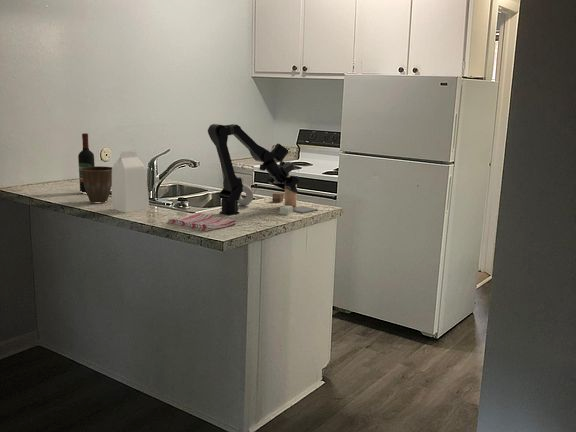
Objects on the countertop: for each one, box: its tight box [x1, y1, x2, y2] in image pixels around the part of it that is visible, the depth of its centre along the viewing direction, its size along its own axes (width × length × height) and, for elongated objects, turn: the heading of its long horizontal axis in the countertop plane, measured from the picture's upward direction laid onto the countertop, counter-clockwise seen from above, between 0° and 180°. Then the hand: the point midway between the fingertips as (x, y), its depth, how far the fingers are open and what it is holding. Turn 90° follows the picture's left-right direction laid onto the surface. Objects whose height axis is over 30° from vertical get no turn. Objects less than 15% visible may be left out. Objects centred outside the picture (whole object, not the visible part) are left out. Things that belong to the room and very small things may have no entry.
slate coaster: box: [293, 205, 319, 214], centre depth 274 cm, size 10×10×1 cm
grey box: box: [279, 205, 294, 216], centre depth 267 cm, size 6×4×3 cm, turn 161°
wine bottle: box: [77, 132, 96, 192], centre depth 304 cm, size 8×8×30 cm
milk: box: [111, 150, 150, 213], centre depth 266 cm, size 12×12×26 cm
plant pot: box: [81, 166, 113, 203], centre depth 282 cm, size 15×15×16 cm
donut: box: [237, 183, 254, 207], centre depth 281 cm, size 10×4×10 cm, turn 64°
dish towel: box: [167, 212, 237, 232], centre depth 243 cm, size 17×23×4 cm
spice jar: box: [283, 175, 298, 207], centre depth 282 cm, size 6×6×14 cm
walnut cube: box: [271, 192, 284, 203], centre depth 294 cm, size 4×4×4 cm
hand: (293, 191), depth 283 cm, fingers closed on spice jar, 6 cm apart
